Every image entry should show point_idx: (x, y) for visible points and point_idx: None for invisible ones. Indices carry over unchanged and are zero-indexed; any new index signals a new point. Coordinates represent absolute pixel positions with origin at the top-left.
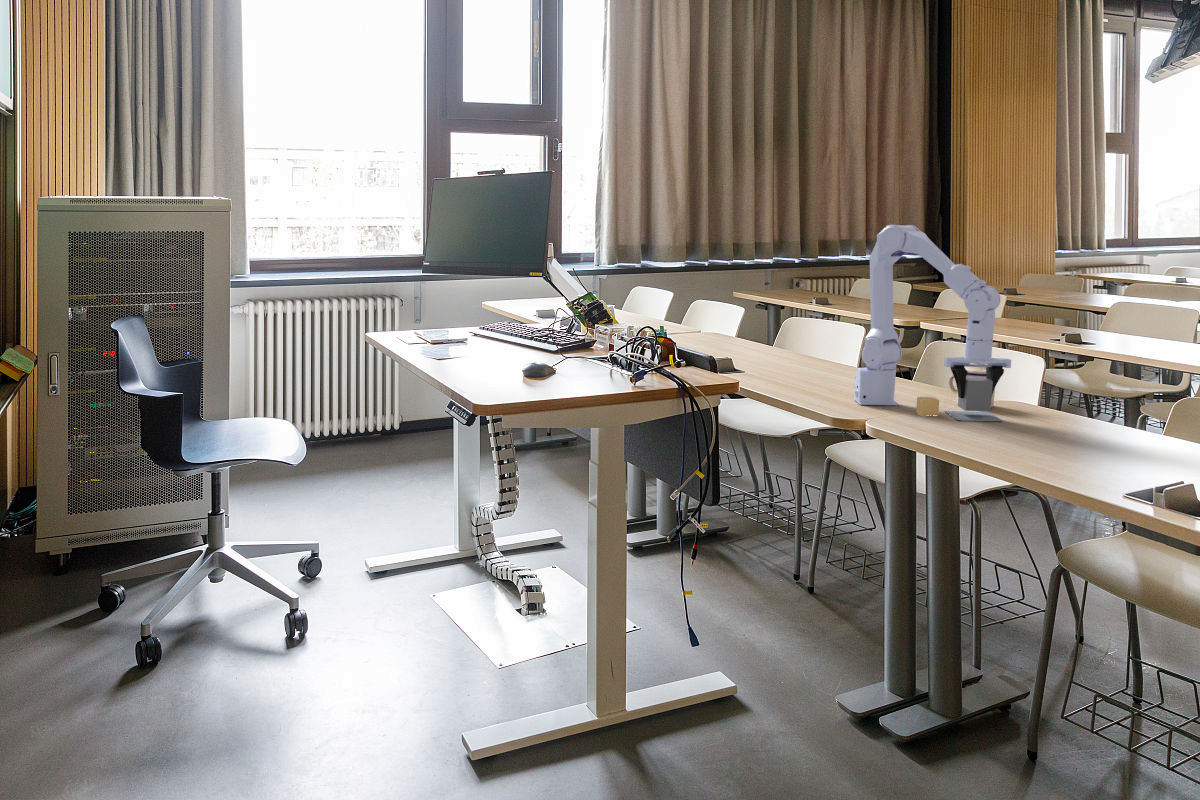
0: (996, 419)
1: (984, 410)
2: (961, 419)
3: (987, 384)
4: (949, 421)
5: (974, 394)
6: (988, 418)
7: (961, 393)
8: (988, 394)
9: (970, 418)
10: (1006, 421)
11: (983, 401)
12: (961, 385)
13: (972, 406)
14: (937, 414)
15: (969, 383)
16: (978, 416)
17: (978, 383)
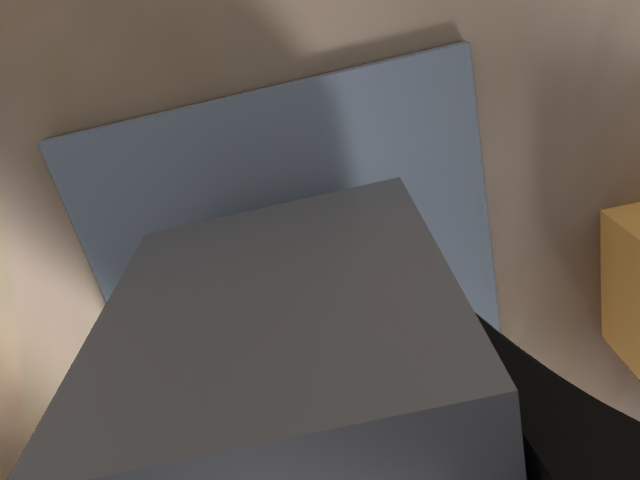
0: (97, 170)
1: (203, 224)
2: (434, 52)
3: (120, 421)
4: (549, 4)
5: (332, 277)
6: (170, 193)
7: (495, 331)
8: (134, 327)
9: (338, 136)
10: (13, 191)
11: (209, 263)
12: (560, 385)
13: (333, 211)
14: (615, 218)
15: (464, 358)
16: None
17: (288, 398)
